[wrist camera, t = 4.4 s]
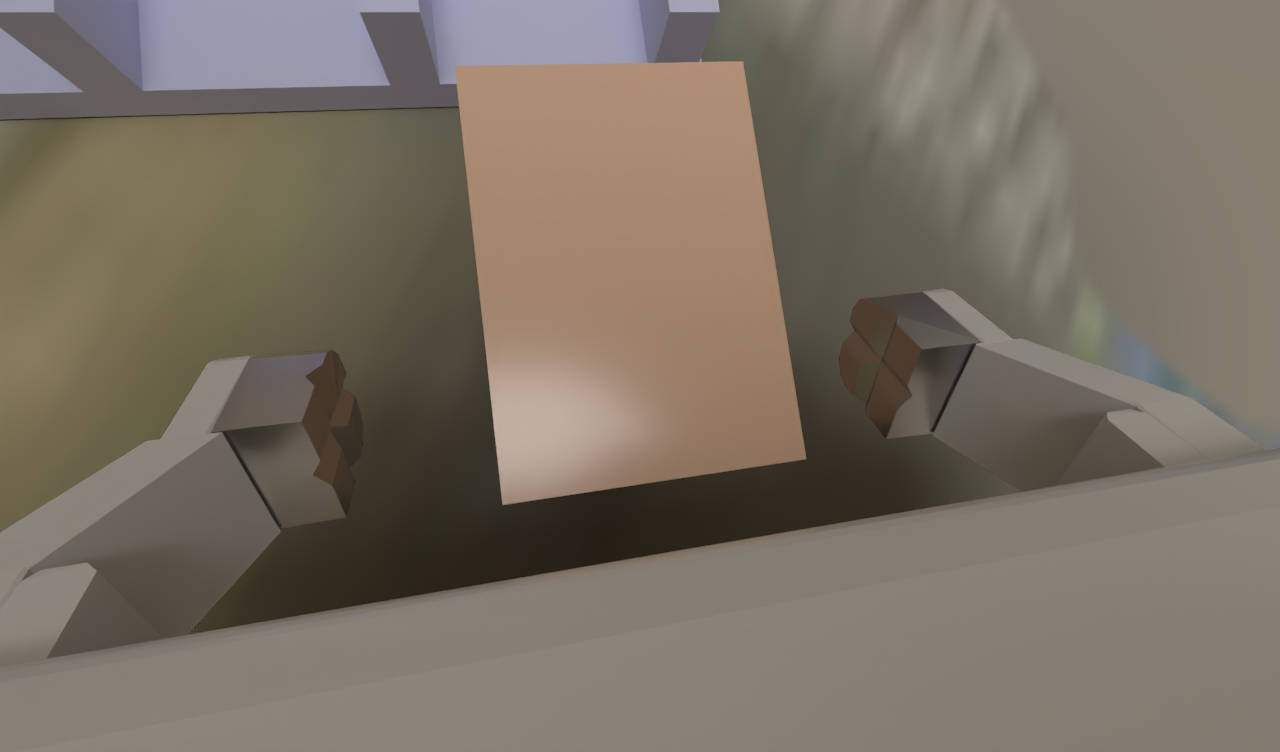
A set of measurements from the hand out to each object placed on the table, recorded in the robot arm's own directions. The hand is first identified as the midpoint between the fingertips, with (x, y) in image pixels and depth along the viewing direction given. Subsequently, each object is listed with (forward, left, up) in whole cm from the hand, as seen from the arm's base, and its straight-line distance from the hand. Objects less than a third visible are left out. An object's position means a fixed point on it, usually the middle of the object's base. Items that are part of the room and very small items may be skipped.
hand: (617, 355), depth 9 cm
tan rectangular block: (0, +1, -6) cm, 6 cm away
